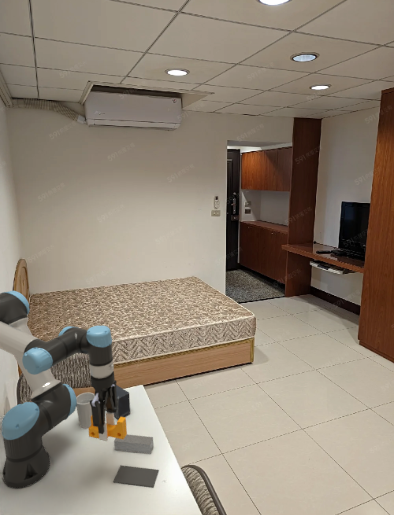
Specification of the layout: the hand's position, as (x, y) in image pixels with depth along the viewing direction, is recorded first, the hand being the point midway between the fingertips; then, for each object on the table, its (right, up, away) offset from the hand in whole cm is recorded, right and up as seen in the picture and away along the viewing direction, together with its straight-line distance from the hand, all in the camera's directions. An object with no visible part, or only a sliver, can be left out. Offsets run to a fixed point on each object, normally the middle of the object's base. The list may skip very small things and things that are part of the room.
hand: (107, 434), depth 120 cm
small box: (-4, -8, +35) cm, 36 cm away
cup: (-15, -9, +27) cm, 33 cm away
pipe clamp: (0, 0, 0) cm, 1 cm away
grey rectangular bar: (+7, -12, +14) cm, 20 cm away
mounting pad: (+10, -15, +1) cm, 18 cm away
